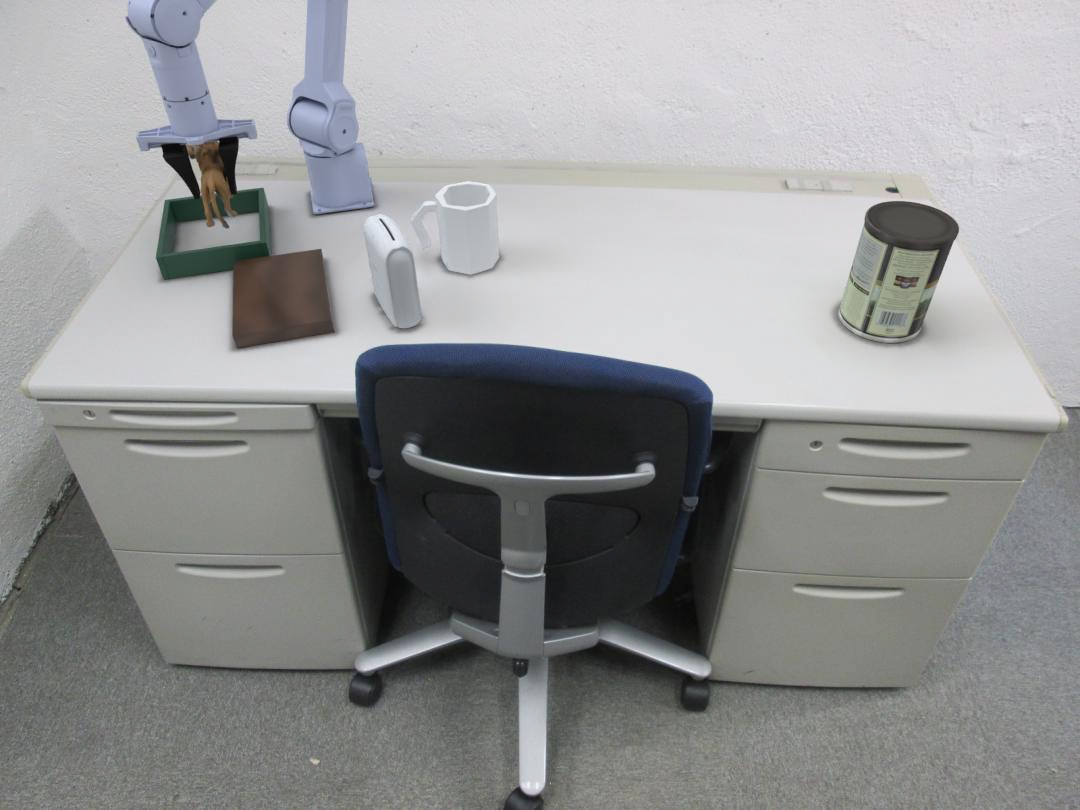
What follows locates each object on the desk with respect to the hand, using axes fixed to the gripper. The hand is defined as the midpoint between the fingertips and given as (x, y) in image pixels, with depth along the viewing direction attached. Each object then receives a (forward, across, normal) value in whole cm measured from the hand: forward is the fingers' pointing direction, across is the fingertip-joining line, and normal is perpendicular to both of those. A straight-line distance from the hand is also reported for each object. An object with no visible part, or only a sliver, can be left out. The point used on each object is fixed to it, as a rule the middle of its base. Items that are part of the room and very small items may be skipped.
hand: (215, 193), depth 108 cm
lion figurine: (+3, -1, +1) cm, 3 cm away
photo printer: (+10, +21, -21) cm, 31 cm away
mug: (+10, +31, -10) cm, 34 cm away
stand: (+9, +7, -15) cm, 19 cm away
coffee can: (+10, +80, -40) cm, 90 cm away
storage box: (+9, -2, +4) cm, 11 cm away
